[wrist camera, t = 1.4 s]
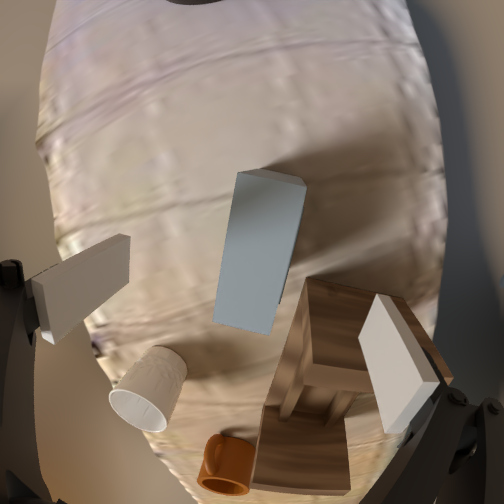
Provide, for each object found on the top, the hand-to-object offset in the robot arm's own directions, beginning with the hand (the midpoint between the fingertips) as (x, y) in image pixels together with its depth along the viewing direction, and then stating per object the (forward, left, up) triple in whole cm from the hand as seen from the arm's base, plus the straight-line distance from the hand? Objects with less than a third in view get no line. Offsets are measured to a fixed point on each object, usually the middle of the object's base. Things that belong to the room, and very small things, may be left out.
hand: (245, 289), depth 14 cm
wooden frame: (+16, +11, -15) cm, 25 cm away
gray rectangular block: (0, 0, -16) cm, 16 cm away
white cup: (+23, -10, -16) cm, 29 cm away
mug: (+40, +2, -16) cm, 43 cm away
